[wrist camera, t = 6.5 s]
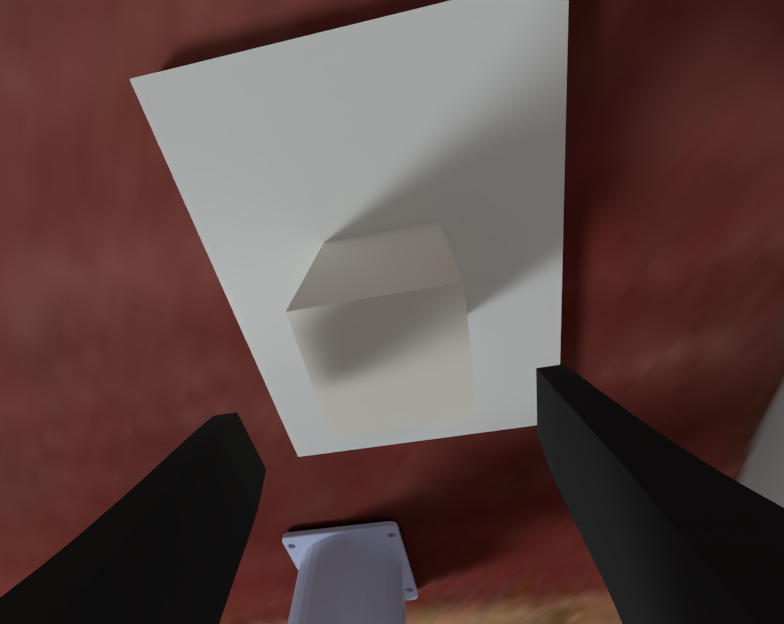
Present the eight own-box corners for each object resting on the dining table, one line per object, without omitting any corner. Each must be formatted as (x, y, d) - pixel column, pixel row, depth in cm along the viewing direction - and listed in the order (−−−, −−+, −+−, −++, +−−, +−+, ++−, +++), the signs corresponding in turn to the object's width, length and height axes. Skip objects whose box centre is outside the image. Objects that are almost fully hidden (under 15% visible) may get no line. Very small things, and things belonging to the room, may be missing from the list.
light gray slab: (550, 406, 20) (599, 498, 15) (303, 439, 22) (276, 534, 17) (553, -17, 12) (663, -105, 7) (150, 81, 13) (9, 63, 8)
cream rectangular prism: (452, 323, 16) (478, 418, 11) (351, 339, 17) (332, 438, 12) (439, 221, 14) (463, 282, 9) (323, 242, 15) (285, 312, 10)
